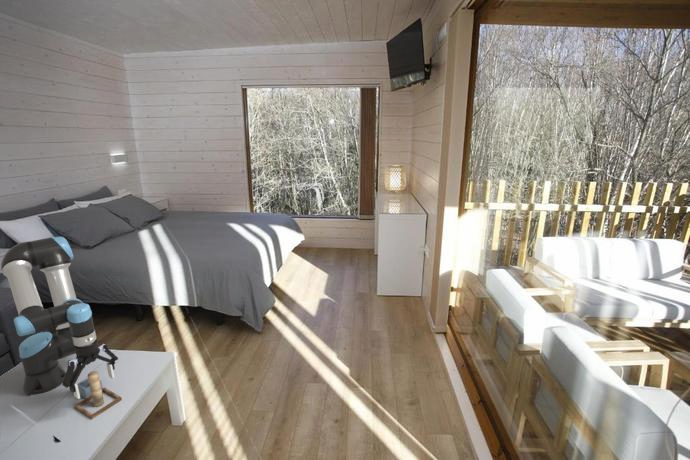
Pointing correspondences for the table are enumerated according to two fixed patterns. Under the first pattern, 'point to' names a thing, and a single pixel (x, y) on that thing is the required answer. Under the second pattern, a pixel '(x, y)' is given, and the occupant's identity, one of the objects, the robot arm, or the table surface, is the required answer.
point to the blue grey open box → (85, 388)
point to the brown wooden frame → (117, 399)
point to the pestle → (95, 389)
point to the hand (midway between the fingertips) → (95, 386)
